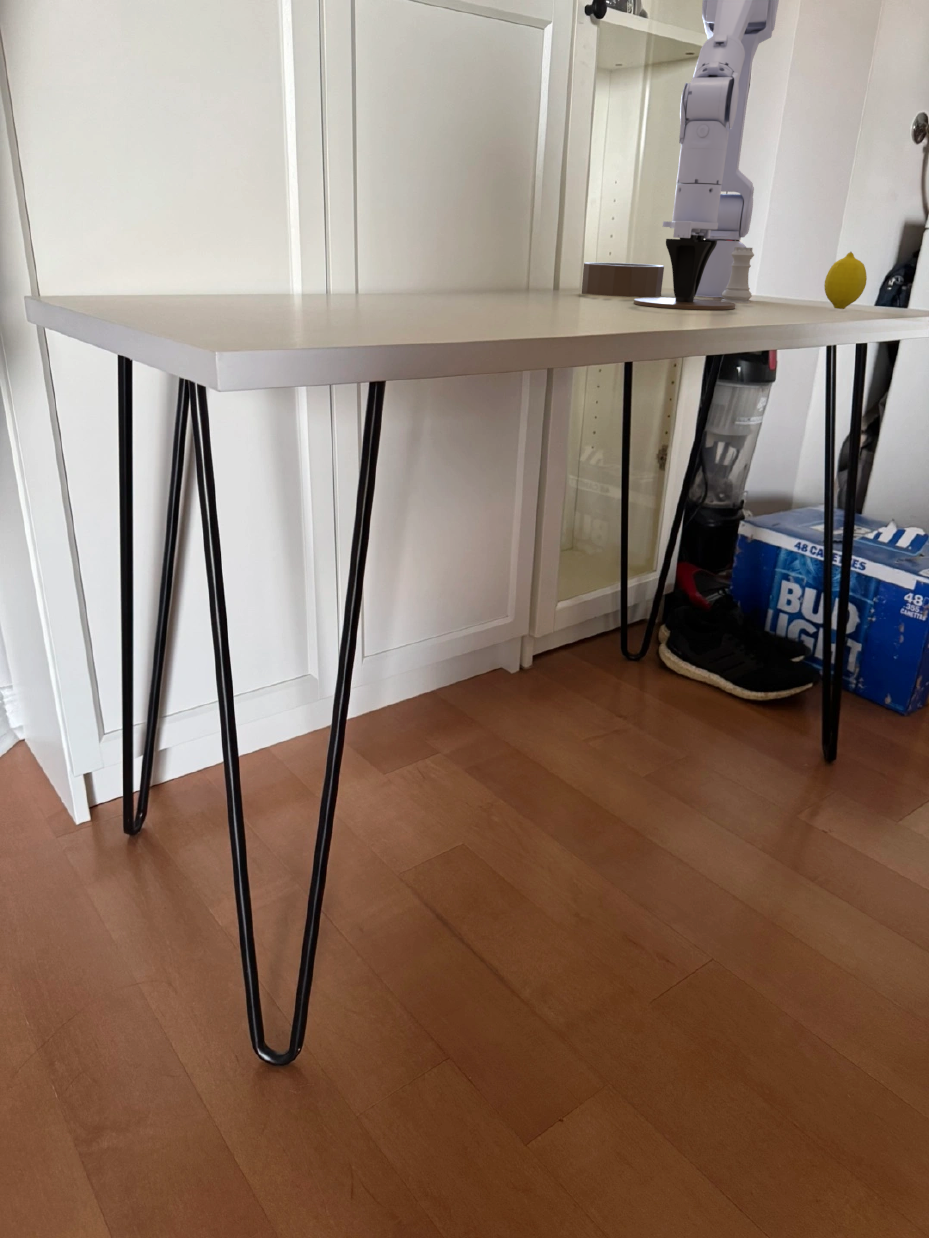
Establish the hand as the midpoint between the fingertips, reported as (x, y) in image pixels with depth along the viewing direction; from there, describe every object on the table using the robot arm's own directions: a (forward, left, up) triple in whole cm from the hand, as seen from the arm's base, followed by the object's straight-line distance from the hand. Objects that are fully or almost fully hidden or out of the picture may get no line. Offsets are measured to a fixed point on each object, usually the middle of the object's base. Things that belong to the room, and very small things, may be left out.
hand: (684, 296), depth 119 cm
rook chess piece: (-16, -4, -2) cm, 17 cm away
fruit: (-26, +7, -2) cm, 27 cm away
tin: (-9, -21, -2) cm, 23 cm away
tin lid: (0, 0, -1) cm, 1 cm away
